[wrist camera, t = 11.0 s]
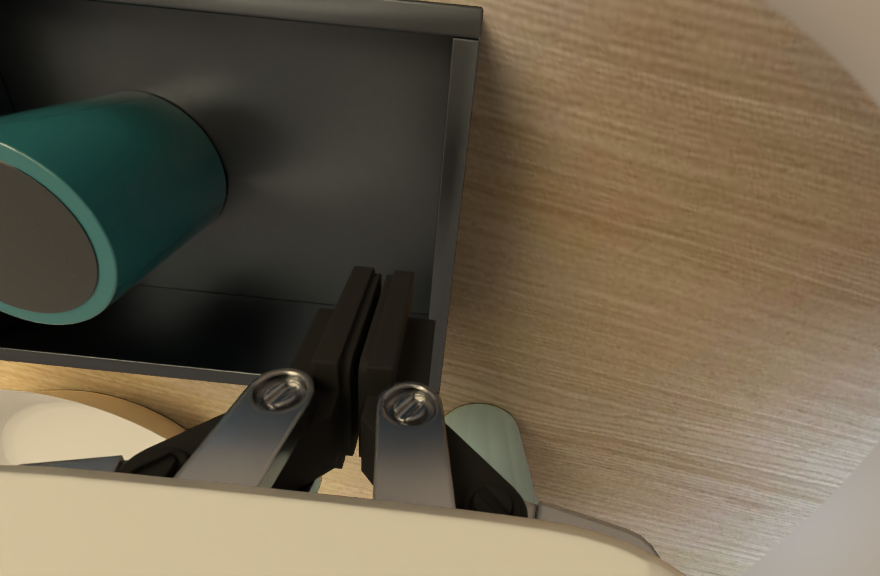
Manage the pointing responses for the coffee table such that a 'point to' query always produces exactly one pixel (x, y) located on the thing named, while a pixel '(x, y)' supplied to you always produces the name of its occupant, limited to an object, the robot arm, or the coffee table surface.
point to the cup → (495, 443)
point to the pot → (98, 200)
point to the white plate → (75, 426)
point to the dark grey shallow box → (265, 165)
